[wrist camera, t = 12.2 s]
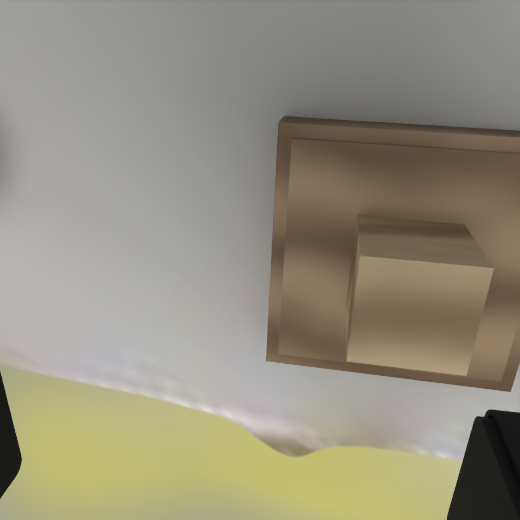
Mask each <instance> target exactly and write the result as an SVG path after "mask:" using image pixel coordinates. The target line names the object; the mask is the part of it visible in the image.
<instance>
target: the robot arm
mask: <svg viewBox="0 0 520 520" xmlns="http://www.w3.org/2000/svg"><path fill="white" fill-rule="evenodd" d="M21 461H22V458H21V452H20V448H19V444H18V440H17V436H16V433H15V429H14V425H13V421H12V417H11V413H10V409H9V405H8V401H7V397H6V393H5V389H4V385H3V381H2V377H1V373H0V498H1V496H2V495H3V494H4V492H5V491H6V490H7V488H8V487H9V486H10V484H11V483H12V481H13V480H14V478H15V477H16V475H17V474H18V472H19V469H20V466H21ZM447 520H520V413H517V412H508V411H500V410H488V411H487V412H486V414H485V416H484V417H480V416H478V417H476V418H475V420H474V423H473V427H472V430H471V434H470V437H469V441H468V444H467V448H466V452H465V455H464V459H463V462H462V466H461V469H460V473H459V476H458V480H457V483H456V487H455V490H454V494H453V498H452V501H451V505H450V508H449V512H448V516H447Z"/></svg>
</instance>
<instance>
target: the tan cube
mask: <svg viewBox="0 0 520 520" xmlns="http://www.w3.org/2000/svg"><path fill="white" fill-rule="evenodd" d="M493 270H494V267H493V266H492V264H491V263H490V261H489V260H488V258H487V257H486V255H485V254H484V252H483V251H482V250H481V248H480V247H479V245H478V244H477V242H476V241H475V239H474V238H473V236H472V235H471V233H470V232H469V230H468V229H467V227H466V226H465V224H454V223H442V222H430V221H418V220H406V219H394V218H382V217H370V216H358V215H357V221H356V229H355V237H354V246H353V254H352V262H351V270H350V278H349V286H348V294H347V302H346V361H348V362H356V363H364V364H372V365H381V366H389V367H397V368H405V369H414V370H422V371H430V372H438V373H446V374H455V375H463V376H467V372H468V368H469V364H470V360H471V357H472V353H473V349H474V345H475V341H476V337H477V333H478V329H479V325H480V321H481V317H482V313H483V310H484V306H485V302H486V298H487V294H488V290H489V286H490V282H491V278H492V274H493Z"/></svg>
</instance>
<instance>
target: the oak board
mask: <svg viewBox="0 0 520 520" xmlns="http://www.w3.org/2000/svg"><path fill="white" fill-rule="evenodd" d="M357 215H358V216H370V217H382V218H394V219H406V220H418V221H430V222H442V223H454V224H465V226H466V227H467V229H468V230H469V232H470V233H471V235H472V236H473V238H474V239H475V241H476V242H477V244H478V245H479V247H480V248H481V250H482V251H483V252H484V254H485V255H486V257H487V258H488V260H489V261H490V263H491V264H492V266H493V267H494V270H493V274H492V278H491V282H490V286H489V290H488V294H487V298H486V302H485V306H484V310H483V313H482V317H481V321H480V325H479V329H478V333H477V337H476V341H475V345H474V349H473V353H472V357H471V360H470V364H469V368H468V372H467V376H463V375H455V374H446V373H438V372H430V371H422V370H414V369H405V368H397V367H389V366H381V365H372V364H364V363H356V362H348V361H346V302H347V294H348V286H349V278H350V270H351V262H352V254H353V246H354V237H355V229H356V221H357ZM266 361H270V362H278V363H286V364H294V365H302V366H310V367H318V368H326V369H333V370H341V371H349V372H357V373H365V374H373V375H381V376H389V377H397V378H405V379H413V380H421V381H429V382H437V383H445V384H453V385H460V386H468V387H476V388H484V389H492V390H500V391H508V392H511V389H512V386H513V382H514V379H515V376H516V373H517V369H518V366H519V363H520V131H511V130H495V129H479V128H463V127H446V126H430V125H414V124H397V123H381V122H365V121H348V120H332V119H316V118H299V117H283V118H282V119H281V120H280V121H279V125H278V144H277V163H276V182H275V201H274V221H273V240H272V259H271V278H270V297H269V316H268V335H267V355H266Z"/></svg>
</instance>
